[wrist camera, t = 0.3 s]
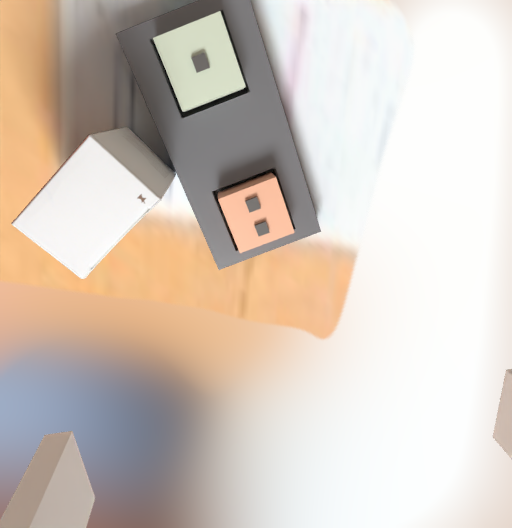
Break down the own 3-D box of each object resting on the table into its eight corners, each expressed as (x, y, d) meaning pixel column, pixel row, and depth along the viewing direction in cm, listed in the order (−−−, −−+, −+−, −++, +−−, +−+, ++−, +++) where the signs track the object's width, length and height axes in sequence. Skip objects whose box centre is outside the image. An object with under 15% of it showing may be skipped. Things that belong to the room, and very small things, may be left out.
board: (121, 38, 30) (115, 33, 28) (242, -10, 29) (244, -19, 27) (218, 262, 37) (218, 269, 35) (315, 225, 37) (320, 231, 35)
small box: (128, 125, 32) (90, 129, 22) (178, 174, 34) (163, 198, 24) (67, 192, 33) (6, 224, 24) (118, 236, 35) (81, 282, 25)
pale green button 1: (158, 45, 29) (152, 37, 26) (219, 21, 29) (220, 9, 26) (185, 111, 31) (182, 111, 28) (242, 89, 31) (246, 86, 28)
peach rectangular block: (217, 192, 34) (218, 200, 30) (270, 171, 33) (276, 177, 30) (237, 242, 35) (240, 254, 32) (288, 223, 35) (295, 233, 32)
